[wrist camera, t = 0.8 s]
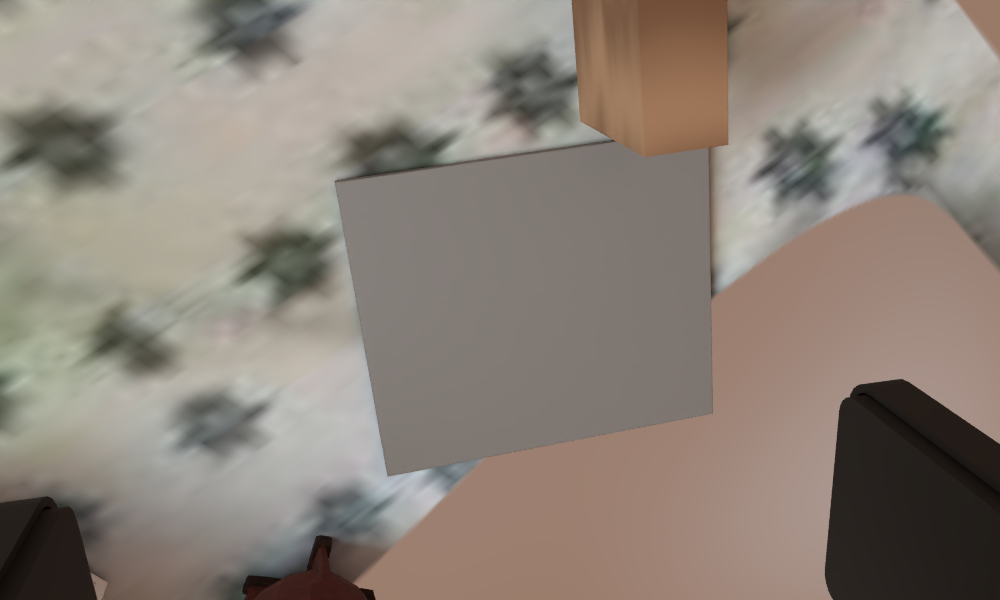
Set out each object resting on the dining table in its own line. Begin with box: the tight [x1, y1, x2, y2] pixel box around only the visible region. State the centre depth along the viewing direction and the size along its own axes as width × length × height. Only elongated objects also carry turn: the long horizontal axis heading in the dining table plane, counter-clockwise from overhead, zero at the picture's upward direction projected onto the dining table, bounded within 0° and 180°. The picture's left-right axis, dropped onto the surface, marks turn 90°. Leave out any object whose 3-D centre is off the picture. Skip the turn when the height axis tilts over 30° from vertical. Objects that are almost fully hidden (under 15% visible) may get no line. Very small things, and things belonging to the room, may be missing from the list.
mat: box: [335, 140, 713, 476], centre depth 39 cm, size 14×16×1 cm
